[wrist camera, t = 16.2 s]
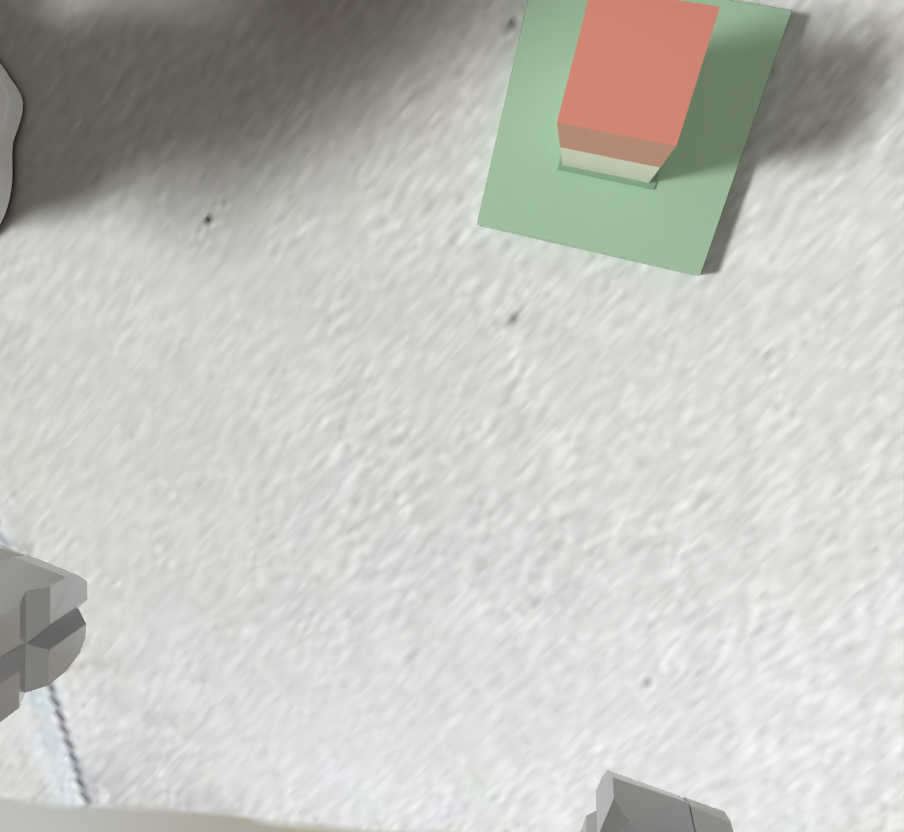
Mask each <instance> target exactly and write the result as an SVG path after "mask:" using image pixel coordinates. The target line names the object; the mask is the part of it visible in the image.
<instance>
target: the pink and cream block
mask: <svg viewBox="0 0 904 832" xmlns="http://www.w3.org/2000/svg"><path fill="white" fill-rule="evenodd" d="M719 9H720V7H718V6H711V5H705V4H699V3H693V2H686V1H680V0H588V2H587V6H586V10H585V14H584V18H583V22H582V26H581V30H580V34H579V38H578V42H577V46H576V50H575V53H574V57H573V61H572V65H571V69H570V73H569V77H568V81H567V85H566V89H565V93H564V97H563V100H562V104H561V108H560V112H559V116H558V120H557V127H558V135H559V142H560V150H561V157H562V164H563V165H564V166H569V167H574V168H579V169H583V170H588V171H593V172H598V173H603V174H607V175H612V176H617V177H622V178H627V179H631V180H636V181H641V182H646V183H649V182H650V181H651V179H652V178H653V177H654V175H655V174H656V173H657V171H658V170H659V169H660V167H661V166H662V165H663V163H664V162H665V161H666V159H667V158H668V157H669V155H670V154H671V153H672V151H673V150H674V149H675V147H676V146H677V142H678V139H679V136H680V133H681V130H682V127H683V123H684V120H685V117H686V114H687V111H688V107H689V104H690V101H691V98H692V95H693V92H694V88H695V85H696V82H697V79H698V76H699V73H700V69H701V66H702V63H703V60H704V57H705V53H706V50H707V47H708V44H709V41H710V38H711V34H712V31H713V28H714V25H715V22H716V19H717V15H718V12H719Z"/></svg>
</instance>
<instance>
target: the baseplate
mask: <svg viewBox="0 0 904 832" xmlns="http://www.w3.org/2000/svg"><path fill="white" fill-rule="evenodd" d="M680 1H686V2H693V3H699V4H705V5H711V6H718V7H720V9H719V12H718V15H717V19H716V22H715V25H714V28H713V31H712V34H711V38H710V41H709V44H708V47H707V50H706V53H705V57H704V60H703V63H702V66H701V69H700V73H699V76H698V79H697V82H696V85H695V88H694V92H693V95H692V98H691V101H690V104H689V107H688V111H687V114H686V117H685V120H684V123H683V127H682V130H681V133H680V136H679V139H678V142H677V146H676V147H675V149H674V150H673V151H672V153H671V154H670V155H669V157H668V158H667V159H666V161H665V162H664V163H663V165H662V166H661V167H660V169H659V170H658V171H657V173H656V174H655V175H654V177H653V178H652V179H651V181H650V182H649V183H646V182H641V181H636V180H631V179H627V178H622V177H617V176H612V175H607V174H603V173H598V172H593V171H588V170H583V169H579V168H574V167H569V166H564V165H563V164H562V157H561V150H560V142H559V135H558V127H557V120H558V116H559V112H560V108H561V104H562V100H563V97H564V93H565V89H566V85H567V81H568V77H569V73H570V69H571V65H572V61H573V57H574V53H575V50H576V46H577V42H578V38H579V34H580V30H581V26H582V22H583V18H584V14H585V10H586V6H587V2H588V0H528V2H527V7H526V11H525V15H524V20H523V24H522V29H521V33H520V37H519V42H518V46H517V50H516V55H515V59H514V64H513V68H512V72H511V77H510V81H509V86H508V90H507V94H506V99H505V103H504V108H503V112H502V116H501V121H500V125H499V129H498V134H497V138H496V143H495V147H494V151H493V156H492V160H491V165H490V169H489V173H488V178H487V182H486V186H485V191H484V195H483V200H482V204H481V208H480V213H479V217H478V222H477V224H478V225H479V226H483V227H487V228H491V229H496V230H500V231H505V232H509V233H513V234H518V235H522V236H526V237H531V238H535V239H539V240H544V241H548V242H552V243H557V244H561V245H565V246H570V247H574V248H578V249H583V250H587V251H591V252H596V253H600V254H604V255H609V256H613V257H617V258H622V259H626V260H630V261H635V262H639V263H643V264H648V265H652V266H657V267H661V268H665V269H670V270H674V271H678V272H683V273H687V274H691V275H700V274H701V271H702V268H703V265H704V262H705V259H706V256H707V253H708V251H709V248H710V245H711V242H712V239H713V236H714V233H715V230H716V228H717V225H718V222H719V219H720V216H721V213H722V210H723V207H724V204H725V202H726V199H727V196H728V193H729V190H730V187H731V184H732V181H733V178H734V176H735V173H736V170H737V167H738V164H739V161H740V158H741V155H742V152H743V150H744V147H745V144H746V141H747V138H748V135H749V132H750V129H751V127H752V124H753V121H754V118H755V115H756V112H757V109H758V106H759V103H760V101H761V98H762V95H763V92H764V89H765V86H766V83H767V80H768V77H769V75H770V72H771V69H772V66H773V63H774V60H775V57H776V54H777V52H778V49H779V46H780V43H781V40H782V37H783V34H784V31H785V28H786V26H787V23H788V20H789V17H790V14H791V11H792V10H788V9H781V8H775V7H769V6H762V5H756V4H749V3H743V2H737V1H730V0H680Z"/></svg>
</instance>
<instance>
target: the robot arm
mask: <svg viewBox="0 0 904 832" xmlns="http://www.w3.org/2000/svg"><path fill="white" fill-rule="evenodd" d="M22 112H23V100H22V97H21V94H20V92H19V90H18V89H17V87H16V86H15V84H14V83H13V81H12V80H11V78H10V77H9V75H8V74H7V72H6V71H5V69H4V68H3V66H2V65H1V63H0V224H1V222H2V220H3V218H4V215H5V213H6V210H7V207H8V203H9V199H10V194H11V188H12V150H13V141H14V138H15V136H16V133H17V130H18V127H19V124H20V120H21V117H22ZM86 600H87V581H85V580H84V579H83V578H81V577H80V576H78V575H76V574H74V573H71V572H69V571H66V570H64V569H61V568H59V567H56V566H54V565H51V564H49V563H46V562H44V561H41V560H39V559H36V558H34V557H31V556H29V555H24V554H22V553H19V552H17V551H14V550H12V549H10V548H7V547H5V546H2V545H0V722H1V721H2V720H4V719H5V718H6V717H7V716H9V715H10V714H11V713H13V712H14V711H15V710H17V709H18V708H19V707H20V704H21V702H22V699H23V697H24V694H25V692H28V691H32V690H35V689H38V688H41V687H44V686H47V685H49V684H50V683H52V682H53V681H54V680H55V679H57V678H58V677H59V676H60V675H62V674H63V673H64V672H65V671H66V670H67V669H68V668H69V666H70V665H71V664H72V662H73V661H74V660H75V658H76V657H77V656H78V654H79V653H80V650H81V648H82V645H83V642H84V639H85V633H86V623H85V621H84V619H83V617H82V615H81V613H80V611H79V609H78V608H79V607H80V606H81V605H82V604H83V603H84V602H85V601H86ZM596 804H597V811H595V812H593V813H591V814H589V815H587V816H586V818H585V821H584V824H583V827H582V829H581V832H733V829H732V825H731V822H730V819H729V818H728V817H727V815H726V814H725V812H724V811H721V810H718V809H716V808H713V807H710V806H707V805H704V804H701V803H699V802H696V801H693V800H690V799H687V798H681V797H680V796H678V795H675V794H672V793H670V792H667V791H664V790H661V789H658V788H656V787H653V786H650V785H647V784H644V783H642V782H639V781H636V780H633V779H631V778H628V777H625V776H622V775H619V774H617V773H614V772H611V771H608V770H607V771H606V773H605V774H604V775H603V776H602V778H601V781H600V783H599V785H598V788H597V790H596Z"/></svg>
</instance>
